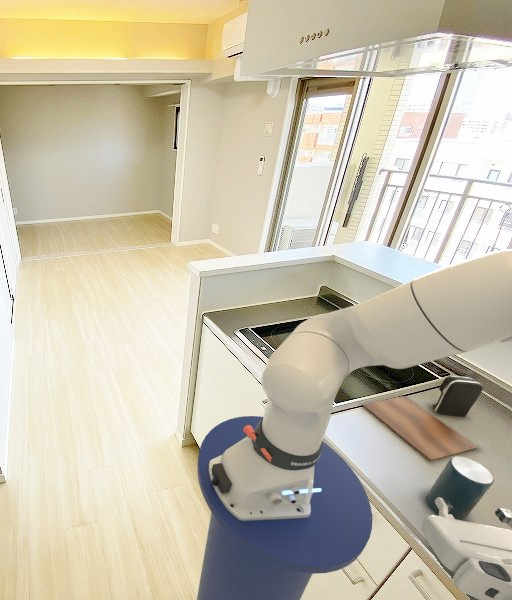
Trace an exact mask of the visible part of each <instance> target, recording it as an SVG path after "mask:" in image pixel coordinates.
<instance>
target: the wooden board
mask: <svg viewBox="0 0 512 600" xmlns="http://www.w3.org/2000/svg"><path fill="white" fill-rule="evenodd" d="M363 408H365V410H366V411H368V412H370V414H372V415H373V416H374V417H375V418H376V419H378V420H379V421H380V422H381V423H382V424H384V425H385V426H386V427H387V428H389V429H390V430H391V431H392V432H394V433H395V434H396V435H397V436H398V437H400V438H401V439H402V440H403V441H404V442H405V443H407V444H408V445H410V446H411V447H412V449H415V450H416V451H417V452H418V453H419V454H420V455H421V456H423V457H424V458H425V459H426V460H428V461H429V462H433V461H437V460H440V459H445V458H448V457H451V456H455V455H459V454H462V453H466V452H470V451H473V450H476V449H478V446H476V445H475V444H473V443H472V442H471V441H469V440H468V439H466V438H465V437H464V436H462V435H461V434H459V433H458V432H456V431H455V430H453V429H452V428H451V427H449V426H448V425H446V424H445V423H444V422H443V421H441V420H439V419H438V418H437V417H436V416H434V415H432V414H431V413H430V412H428V411H426V410H425V409H424V408H423V407H421V406H419V405H418V404H417V403H415V402H414V401H413V400H411V399H409V398H408V397H407V396H405V395H402V396H397V397H393V398H388V399H384V400H379V401H375V402H370V403H365V404H363Z"/></svg>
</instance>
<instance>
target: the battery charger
mask: <svg viewBox="0 0 512 600" xmlns="http://www.w3.org/2000/svg"><path fill="white" fill-rule="evenodd" d="M438 389H439V391H440V395H439V398H438V400H437V401H436V402H435V404H432V409H433V410H434V412H435V413H436V414H438V415H444V416H445V415H446V416H452V417H453V416H454V417H462V418H466V416H467V415H468V413H469V412H470V410H471V409H472V407H473V406H474V405H475V403H476V402H477V400H478V399H479V397H480V396H481V394H482V392H483V390H484V387H483V385H482V384H481V382H478V380H476V379H475V378H473V377H468V376H459V375H448V376H446V377H445V378H444V379H443V381H442V382H441V384H440V386H439V388H438Z"/></svg>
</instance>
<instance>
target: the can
mask: <svg viewBox="0 0 512 600" xmlns="http://www.w3.org/2000/svg"><path fill="white" fill-rule="evenodd" d="M494 483H495V479H494V477H493V475H492V473H491V472H490V471H489V470H488V469H487V468H486V467H485V466H483V465H482V464H480V463H479V462H478V461H475V460H473V459H471V458H467V457H464V456H453V457H450V459H449V461H448V462H447V464H446V465H445V466H444V468H443V469H442V471H441V472H440V474H439V475H438V477H437V479H436V480H435V482H434V483H433V484H432V486H431V488H430V489H429V490H428V492H427V493H426V495H425V502H426V504H427V506H428V507H429V509H431V511H432V512H434V513H435V515H436V516H439V509H438V507H437V505H436V504H435V500H436V498H437V497H439V498H444V499H448V500H449V503H451V505H452V506H453V508H452V509H450V512H448V515H449V514H451V515H453V517H454V519H456V520H461V521H466V519H467V517H468V516H469V515H470V514H471V512H472V511H473V510H474V508H475V507H476V506H477V505H478V503H479V502H480V501H481V499H483V497H484V496H485V495H486V493H487V492H488V491H489V489H490V488H491V487H492V486H493V484H494Z"/></svg>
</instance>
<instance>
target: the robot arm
mask: <svg viewBox="0 0 512 600" xmlns="http://www.w3.org/2000/svg"><path fill="white" fill-rule="evenodd" d="M507 342H512V248H509V249H508V248H507V249H500V250H496V251H495V250H494V251H491V252H488V253H485V254H480V255H478V256H474V257H470V258H467V259H465V260H461V261H458V262H456V263H453V264H450V265H446V266H444V267H441V268H439V269H436V270H434V271H431V272H428V273H426V274H423V275H421V276H419V277H417V278H414V279H411V280H410V281H408V282H405V283H403V284H401V285H398V286H395V287H394V288H392V289H389V290H387V291H385V292H383V293H380V294H377V295H376V296H373V297H372V298H369V299H367V300H364V301H362V302H360V303H356V304H353V305H351V306H347V307H344V308H340V309H337V310H334V311H330V312H327V313H320V314H317V315H315V316H312V317H309V318H308V319H306V320H304V321H302V322H301V323H300V324H298V325H297V326H296V327H295V328H294V330H293V331H291V333H290V334H289V335H288V336H287V338H285V339H284V340H283V342H282V343H280V345H279V346H278V347H277V348H275V350H274V352H272V354H271V355H270V356H269V358H268V360H267V362H266V364H265V367H264V369H263V372H262V374H261V379H260V381H261V387H262V390H263V392H264V394H265V395H266V397H267V400H266V405H265V407H264V408H265V409H264V413H263V416H262V417H263V418H262V420H261V421H260V422H259V424H258V425H257V427H256V428H255V430H253V428H252V426H250V425H247V426H245V427H244V429H243V431H244V432H245V433H246V434H247V437H245V438H244V439H242V440H241V441H239V442H238V443H236V444H234V445H233V446H231V447H230V448H228V449H227V450H226V451H225V452H224V453H223V455H220V456H218V457H216V458H214V459H212V460H211V461H210V462H209V468H208V469H209V476H210V479H211V482H212V485H213V487H214V489H215V491H216V493H217V495H218V496H219V498H220V500H221V501H222V503H223V504H224V506H225V507H226V508H227V509H228V510H229V512H230V513H231V514H232V515H234V516H235V517H236V518H237V519H239V520H241V521H251V520H273V519H295V518H308V517H309V516H310V513H311V506H310V500H311V498H312V495H313V492H321V488H317V489H313V482H314V468H315V464H316V463H317V461H318V459H319V458H320V455H321V450H322V441H323V440H324V437H325V435H326V431H327V429H328V426H329V424H330V421H331V414H332V409H333V406H334V403H335V400H336V397H337V394H338V392H339V390H340V388H341V386H342V384H343V382H344V380H345V378H346V377H347V376H348V375H350V374H351V373H352V372H353V371H355V370H358V369H361V368H364V367H377V366H385V367H388V368H391V369H396V370H403V369H408V368H412V367H416V366H420V365H423V364H427V363H430V362H434V361H437V360H442V359H445V358H448V357H454V356H456V355H460V354H464V353H467V352H470V351H475V350H479V349H482V348H485V347H488V346H491V345H493V344H497V343H507ZM435 504H436V505H437V507H438V509H439V515H436V514H429V515H428V516H427V517H426V518H425V519H424V521H423V523H422V524H421V530H422V533H423V535H424V537H425V539H426V540H427V542H428V544H429V546H430V548H431V549H432V551H433V552H434V554H435V555H436V557H437V558H438V560H439V561H440V562H441V564H443V566H445V568H446V569H447V570H448V571H450V572H452V573H454V574H453V576H452V581H453V583H454V585H455V587H456V589H458V590H459V591H461V592H462V593H464V594H466V595H468V596H471V597H473V598H474V599H477V600H512V511H511V510H510V509H505V508H500V507H499V508H497V510H495V511H494V514H495V516H496V517H497V518H498V520H499V522H500V523H502V524H507V525H508V526H509V527H510V528H511V529H508V528H503V527H496V526H492V525H489V524H488V525H487V524H481V523H477V522H471V521H466V520H464V521H461V520H456V519H454V517H453V515H451V514H449V515H448V512H450V509H452V508H453V506H452V505H451V503H449V500H448V499H444V498H439V497H437V498H436V500H435ZM230 505H232V506H233V507H231V506H230ZM297 510H299V511H300V512H298V511H297Z"/></svg>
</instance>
